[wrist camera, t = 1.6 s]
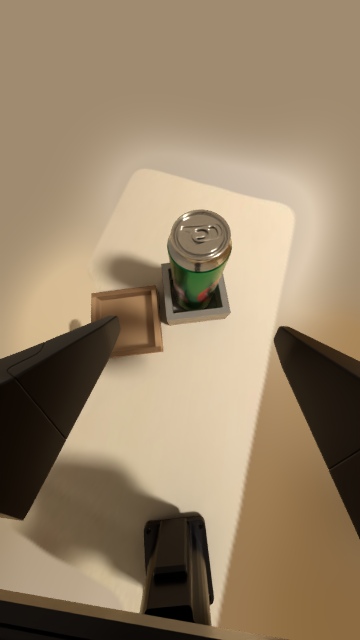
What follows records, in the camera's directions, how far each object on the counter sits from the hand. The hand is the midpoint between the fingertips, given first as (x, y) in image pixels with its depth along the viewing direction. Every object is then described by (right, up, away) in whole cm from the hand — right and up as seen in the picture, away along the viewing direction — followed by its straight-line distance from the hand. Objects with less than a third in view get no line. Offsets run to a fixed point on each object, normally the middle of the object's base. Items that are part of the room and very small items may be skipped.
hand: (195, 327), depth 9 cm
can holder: (+1, +4, +14) cm, 15 cm away
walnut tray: (-8, 0, +14) cm, 16 cm away
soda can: (+1, +4, +14) cm, 15 cm away
